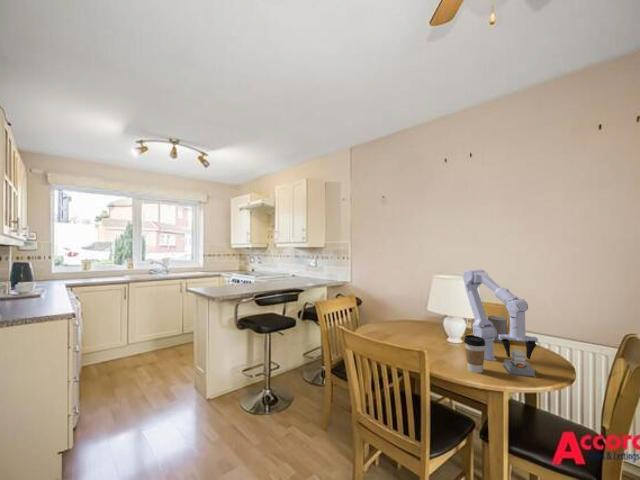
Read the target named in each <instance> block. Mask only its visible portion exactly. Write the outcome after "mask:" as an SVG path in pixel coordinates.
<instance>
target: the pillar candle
mask: <svg viewBox="0 0 640 480" xmlns="http://www.w3.org/2000/svg"><path fill="white" fill-rule="evenodd" d="M487 319H488V320H489V321H491V322H492V324H493V326H494V327H495V329H496V331H497V336H496V337H495V338H494V340H493V343H494V344H503V343H502V341H501V340H500V339H499V335H507V334H508V319H507V317H505V316H502V315H501V316H500V315H488V316H487Z"/></svg>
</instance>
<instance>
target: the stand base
mask: <svg viewBox="0 0 640 480" xmlns="http://www.w3.org/2000/svg"><path fill="white" fill-rule="evenodd" d="M511 361H512V359H505V358H504V359H503V365H502V367H503V368H504V369H505V371H506V373H508V375H509V376H520V377H528V378H537V377H538V376H536V375H535V374H536V372H535V368H533V366H531V364H529V362H528V361H526V360H525V361H526V362H525V365H526V367H524V365H518V366H514V365H513V364H512V362H511Z"/></svg>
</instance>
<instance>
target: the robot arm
mask: <svg viewBox="0 0 640 480" xmlns="http://www.w3.org/2000/svg"><path fill="white" fill-rule="evenodd" d="M462 279H463V282H464V288H465V293H466V295H467V298H468V301H469V306H470V308H471V311H472V315H473V317H474V320H475V321H474V322H473V323H472V325H471V326H472V334H473V336H478V337H481V338H483V339H484V340H485V346H484V349H485V351H484V361H492V362H496V361H497V359H496V357H495V356H494V355H495V354H494V353H495V351H494V348H495V347H494V345H495V342H493V340H494V338H495V337H496V336H497V331H496V329H495V327H494V326H493V324H492V322H491V321H489V320H488V316H487V314H486V311H485V309H484V308H485V307H484V305H483V302H482V299H481V297H480V293H479V290H478V288H479V287H480V286H481V285H482V284H483V285H485V286H486V287H487V288H488V289H490V290H491V291H492V292H493V293H494V295H495V297H496V298H497V299H498V300H500V301H501V302H502V303H503V304H504V305H505V308H506V310H507V311H508V312H507V313H508V315H509V333H507V335H499V339H500V340H501V341H502V343H501V344H502V345H503V347H504V349H505V353H506V357H507V358H511V352H510V351H511V348H510V347H511V342H510V341H516V342H525V349H526V353H525V357H526V358H527V359H528V360H531V357H532V354H533V351H534V350H535V348H536V347H537V344H539V338H538V337H537V336H529V335H526V334H527V333H526V312H527V311H528V309H529V305H528V302H527V301H526V300H525V299H524V298H519V297H518V296H517V295H515V294H513V292H511V291H510V289H509V288H508V287H507V288H506V287H501V286H500V285H499V284H497V283H496V281H495V280H493V279H492V278H491V277H490V276H489V274H488V272H486V271H485V269H481V268H480V269H466V270H464V272H463V274H462Z"/></svg>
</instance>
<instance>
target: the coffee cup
mask: <svg viewBox="0 0 640 480" xmlns="http://www.w3.org/2000/svg"><path fill="white" fill-rule="evenodd" d="M463 343H464V344H465V347H464V349H465V357H466V364H467V371H468V372H470V373H476V374H481V373H484V364H485V363H484V362H485V360H484V351H485V349H484V346H485V340H484V339H483V338H481V337H478V336H474V334H473V335H471V334H466V335H464V340H463Z"/></svg>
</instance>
